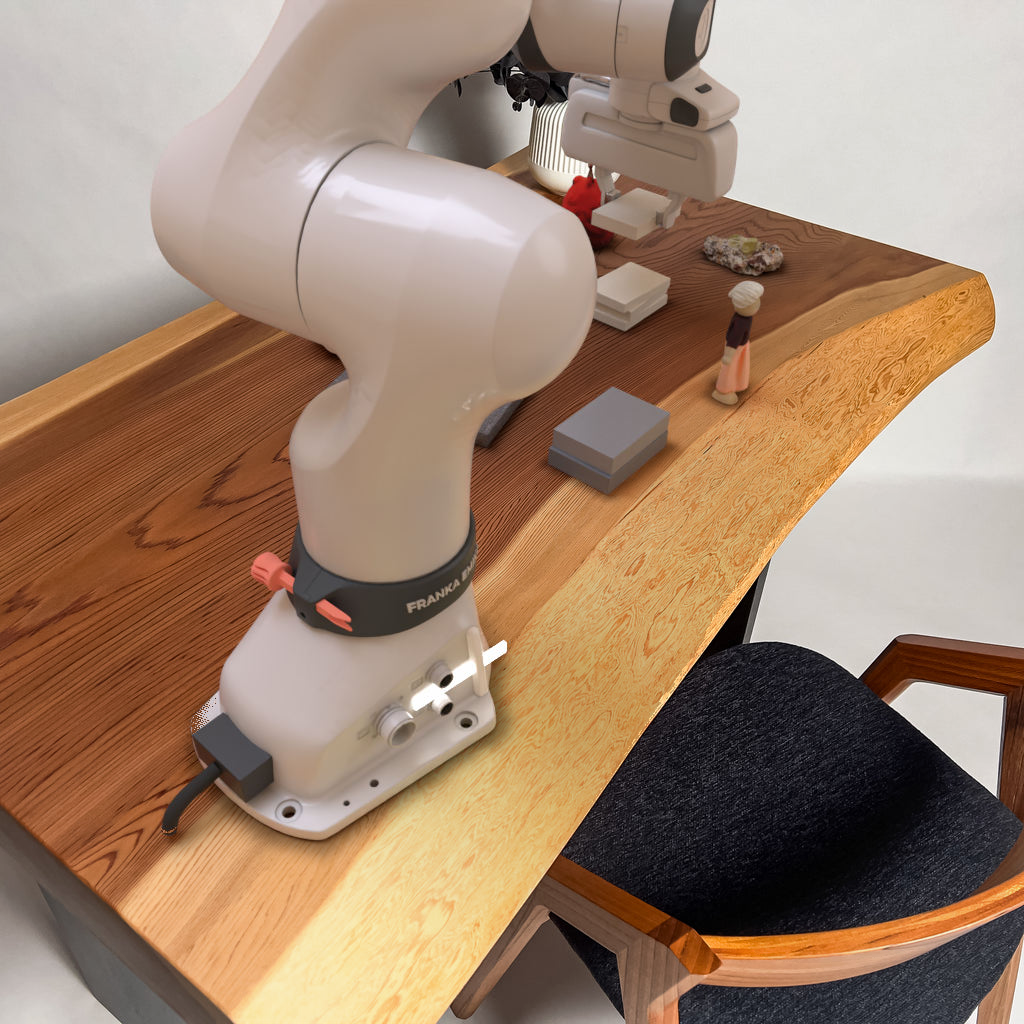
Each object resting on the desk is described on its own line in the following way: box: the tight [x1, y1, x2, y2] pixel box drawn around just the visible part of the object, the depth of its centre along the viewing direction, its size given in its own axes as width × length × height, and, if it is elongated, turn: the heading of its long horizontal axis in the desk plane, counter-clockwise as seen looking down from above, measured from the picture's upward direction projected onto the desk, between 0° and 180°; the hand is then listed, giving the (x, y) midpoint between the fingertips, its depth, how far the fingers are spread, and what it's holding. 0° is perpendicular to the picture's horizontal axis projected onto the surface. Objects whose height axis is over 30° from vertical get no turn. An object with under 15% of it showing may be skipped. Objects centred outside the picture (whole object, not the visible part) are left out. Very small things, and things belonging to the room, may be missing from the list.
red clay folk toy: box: [560, 163, 616, 251], centre depth 123 cm, size 8×7×15 cm
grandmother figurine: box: [711, 280, 765, 406], centre depth 98 cm, size 8×4×13 cm, turn 168°
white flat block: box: [591, 187, 682, 241], centre depth 107 cm, size 9×6×2 cm, turn 141°
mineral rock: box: [701, 233, 785, 277], centre depth 125 cm, size 11×4×8 cm
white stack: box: [593, 261, 671, 332], centre depth 114 cm, size 10×7×4 cm
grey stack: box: [547, 386, 671, 496], centre depth 92 cm, size 10×7×4 cm
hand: (636, 216), depth 107 cm, fingers closed on white flat block, 6 cm apart
